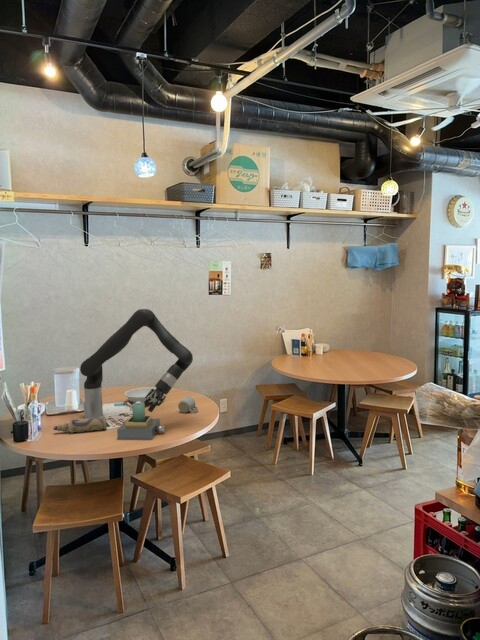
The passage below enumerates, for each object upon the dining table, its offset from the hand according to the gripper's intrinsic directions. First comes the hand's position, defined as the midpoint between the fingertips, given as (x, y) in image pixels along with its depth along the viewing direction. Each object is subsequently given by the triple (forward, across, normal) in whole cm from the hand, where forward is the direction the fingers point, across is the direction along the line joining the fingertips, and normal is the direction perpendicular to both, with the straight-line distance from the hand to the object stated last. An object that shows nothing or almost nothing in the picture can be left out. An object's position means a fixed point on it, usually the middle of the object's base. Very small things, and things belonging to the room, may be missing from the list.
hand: (146, 409), depth 233 cm
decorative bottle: (+27, -22, -10) cm, 36 cm away
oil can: (+8, 0, +1) cm, 9 cm away
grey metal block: (+10, +1, +7) cm, 12 cm away
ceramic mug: (-15, -19, +32) cm, 40 cm away
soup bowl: (-5, -53, +22) cm, 58 cm away
